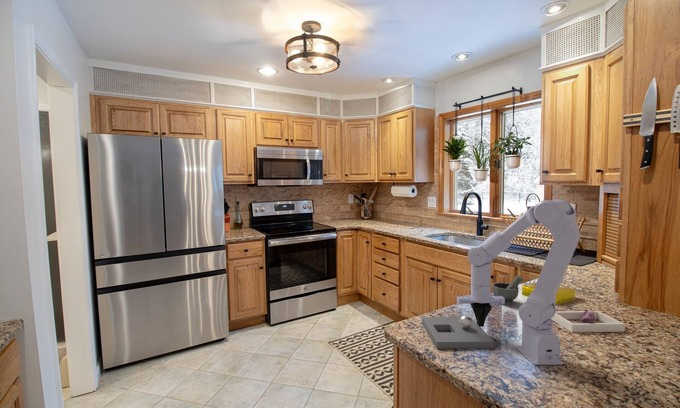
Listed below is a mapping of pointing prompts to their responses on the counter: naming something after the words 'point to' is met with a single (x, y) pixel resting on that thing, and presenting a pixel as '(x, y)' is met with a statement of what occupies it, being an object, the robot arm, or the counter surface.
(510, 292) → the mortar and pestle
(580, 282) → the counter surface
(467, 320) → the steel ball
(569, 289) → the element tile
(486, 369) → the counter surface
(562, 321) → the vegetable tray
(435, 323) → the hole board
